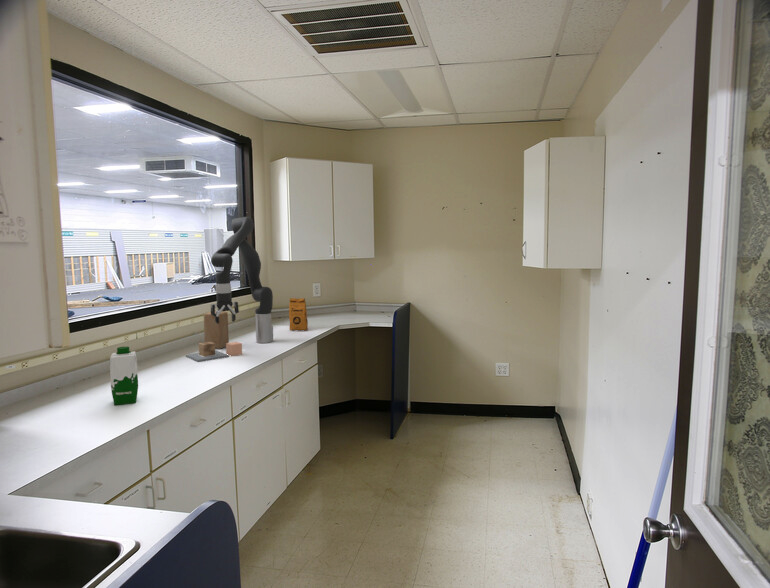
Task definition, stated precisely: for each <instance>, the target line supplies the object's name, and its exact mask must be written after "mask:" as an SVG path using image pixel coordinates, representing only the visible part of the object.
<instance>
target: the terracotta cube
mask: <svg viewBox="0 0 770 588" xmlns="http://www.w3.org/2000/svg"><path fill="white" fill-rule="evenodd" d="M225 351H226V353H225V354H228V355H229V356H230V355H231V356H230V357H234V356H233V355H235V356H240V355H239V354H241V355H243V343H242V342H239V341H232V342H229V343H226V347H225Z"/></svg>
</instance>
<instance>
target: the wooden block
mask: <svg viewBox="0 0 770 588" xmlns="http://www.w3.org/2000/svg"><path fill="white" fill-rule="evenodd" d="M215 313H216V310H215ZM228 315H229V313H228V311H222V312H221V313H220V314H219V316H218V317H219V324H217V323H216V322H215V316H212V315H211V311H208V312H205V313H203V330H204V331H203V333H204V334H203V336H204V343H205V342H212V343H215V350H220V349H223V348H226V343H230V341H229V340H230V339H229V316H228Z"/></svg>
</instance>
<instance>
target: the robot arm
mask: <svg viewBox="0 0 770 588" xmlns="http://www.w3.org/2000/svg"><path fill="white" fill-rule="evenodd" d="M254 227H255V226H254V221H253V219H252V218H251V217H250V216H242V217H234V218H232V219H231V228H232V232H233V235H231V236H230V237H229V236H228V238H227V239H226V240H225V242H224V243H223V245H222V246H221V247H220V248H219V249H217V251H215V252H214V253H213V254H212V256H211V260H210V264H211V265H212V267H214V268H223V269H222V271H221V270H220V271H219V272H216V273H215V293H216V303H215V304H214V303H211V304H210V312H211V315H212V316H215V322H216V323H217V324H219V317H218V316H219V314H220V313H221V312H230V313H231V321H232V322H235V321H236V319H237V318H236V314H239V312H240V310H239V303H238V301H232V299H233V298H232V285H231V271H232V266H233V263H234V262H233V256H234V255H235V253H236V251H237V249H238V248H239V249H240V253H241V258H242V261H243V264H244V268H245V270H246V274H247V279H248V281H249V286H250V291H251V297H252V299H253V300H254V301H255V302H259V306H258V307H257V308H255V310H254V312H255V313H254V314H255V315H254V316H255V342H256V343H258V344H268V343H272V342H274V325H272V324H273V323H272V322H273V321H272V310H273V299H274V298H273V297H274V296H273V290H272V288H271V287H269V286H262V282H261V280H260V276H261V275H260V274H261V268H262V264H261V263H262V262H261V258H260V256H259V253H258V252H257V250H256V249H255V248H254V247H253V246H252V245H251V244H250V243H249V241H248V240H247V237H248V236H249V235H250V234H251V233H252V232H253V230H254ZM232 307H233V308H232ZM216 308H217V309H216ZM215 311H216V313H215Z"/></svg>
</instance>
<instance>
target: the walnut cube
mask: <svg viewBox="0 0 770 588" xmlns="http://www.w3.org/2000/svg"><path fill="white" fill-rule="evenodd" d="M215 350H216V349H215V343H212V342H205V341H204V342H200V343H198V353H199V355H201V356H211V355H215Z"/></svg>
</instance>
